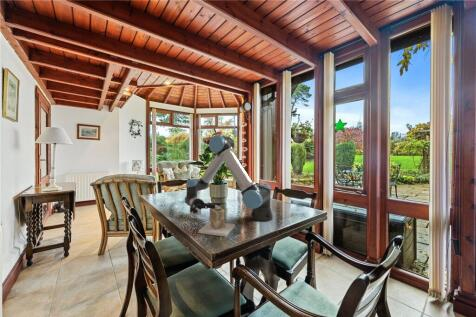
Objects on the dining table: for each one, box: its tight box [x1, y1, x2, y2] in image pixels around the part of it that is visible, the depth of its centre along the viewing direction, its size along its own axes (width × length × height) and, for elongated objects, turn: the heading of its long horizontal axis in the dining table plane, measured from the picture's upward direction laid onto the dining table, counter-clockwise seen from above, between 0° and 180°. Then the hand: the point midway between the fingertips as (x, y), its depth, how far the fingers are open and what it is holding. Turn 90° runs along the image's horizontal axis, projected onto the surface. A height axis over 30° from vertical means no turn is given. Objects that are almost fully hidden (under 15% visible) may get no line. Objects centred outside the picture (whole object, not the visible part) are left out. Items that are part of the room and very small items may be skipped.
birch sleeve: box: [210, 207, 226, 230], centre depth 123 cm, size 6×6×10 cm
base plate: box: [198, 220, 236, 238], centre depth 123 cm, size 16×16×5 cm
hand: (210, 211), depth 130 cm, fingers open, 13 cm apart
